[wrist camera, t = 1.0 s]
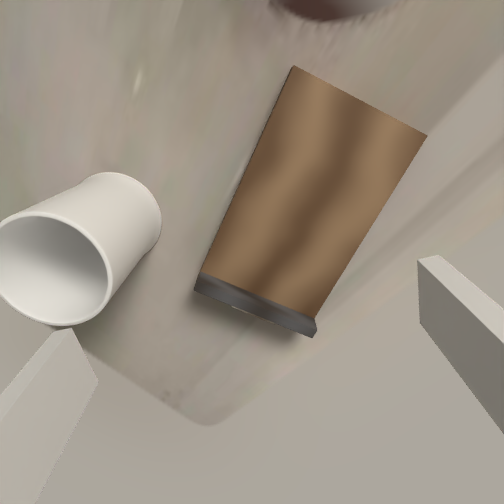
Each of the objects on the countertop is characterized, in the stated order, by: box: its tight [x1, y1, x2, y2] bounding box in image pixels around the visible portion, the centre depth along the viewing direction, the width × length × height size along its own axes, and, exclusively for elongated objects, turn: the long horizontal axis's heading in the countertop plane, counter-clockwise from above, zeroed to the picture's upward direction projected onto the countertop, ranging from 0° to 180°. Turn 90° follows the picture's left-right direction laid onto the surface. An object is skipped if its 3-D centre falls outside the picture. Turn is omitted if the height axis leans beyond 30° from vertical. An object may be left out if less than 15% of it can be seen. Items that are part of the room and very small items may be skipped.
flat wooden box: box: [194, 65, 427, 338], centre depth 31 cm, size 12×20×4 cm, turn 155°
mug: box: [0, 172, 162, 326], centre depth 28 cm, size 12×8×12 cm
